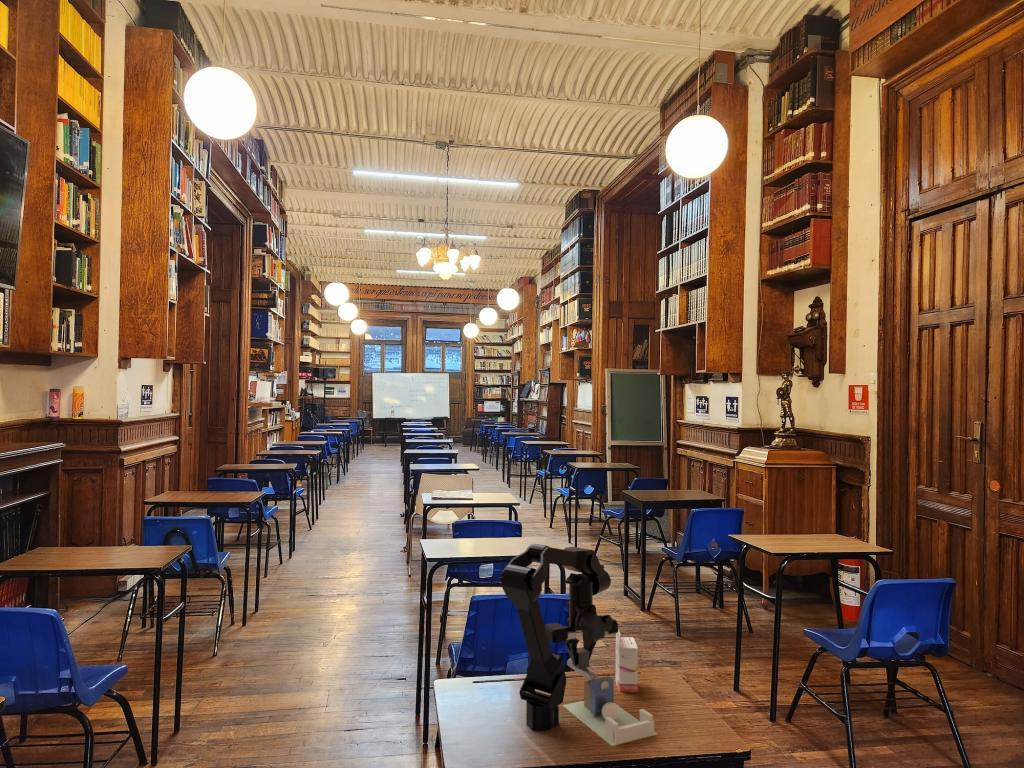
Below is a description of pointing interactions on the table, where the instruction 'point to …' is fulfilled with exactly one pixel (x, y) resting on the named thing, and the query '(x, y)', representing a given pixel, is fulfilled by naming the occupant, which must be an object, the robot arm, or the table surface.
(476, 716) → the table surface
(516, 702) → the table surface
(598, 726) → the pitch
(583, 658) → the player rod
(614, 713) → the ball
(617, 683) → the ink cartridge box
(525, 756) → the table surface
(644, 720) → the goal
